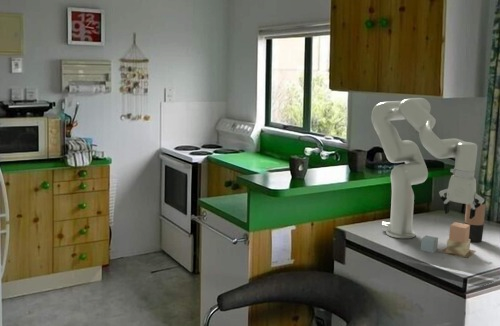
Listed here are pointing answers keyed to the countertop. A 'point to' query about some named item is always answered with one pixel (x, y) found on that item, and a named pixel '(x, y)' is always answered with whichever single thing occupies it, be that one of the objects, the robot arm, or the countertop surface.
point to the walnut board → (457, 254)
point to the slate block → (429, 244)
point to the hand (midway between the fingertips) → (459, 215)
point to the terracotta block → (459, 232)
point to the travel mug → (476, 221)
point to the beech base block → (458, 247)
